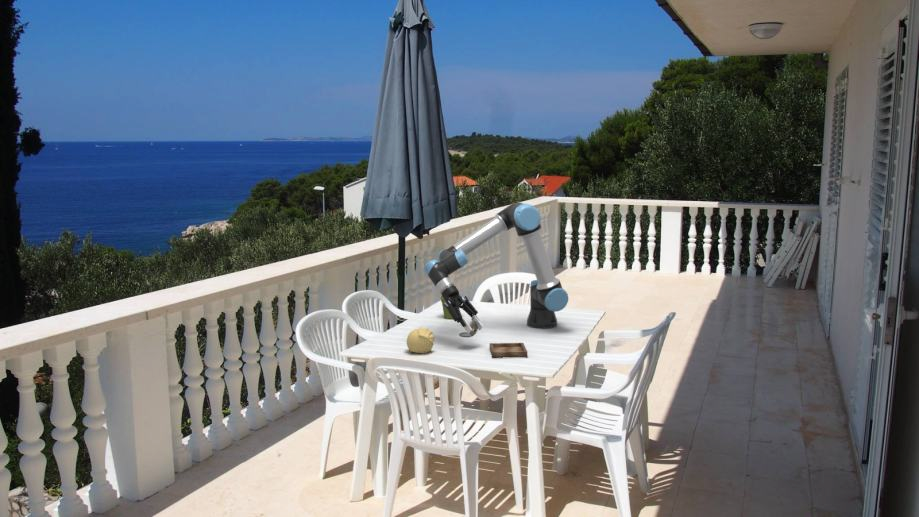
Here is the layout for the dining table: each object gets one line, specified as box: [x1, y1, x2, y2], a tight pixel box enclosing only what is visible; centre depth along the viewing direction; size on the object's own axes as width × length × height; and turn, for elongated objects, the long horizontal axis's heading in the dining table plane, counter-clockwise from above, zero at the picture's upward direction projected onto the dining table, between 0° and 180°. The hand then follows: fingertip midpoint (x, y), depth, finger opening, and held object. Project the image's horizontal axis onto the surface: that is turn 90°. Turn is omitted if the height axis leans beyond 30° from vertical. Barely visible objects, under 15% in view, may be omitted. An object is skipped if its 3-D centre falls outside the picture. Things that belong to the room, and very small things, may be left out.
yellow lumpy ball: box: [406, 326, 435, 354], centre depth 331 cm, size 12×12×11 cm
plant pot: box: [439, 295, 463, 320], centre depth 395 cm, size 12×12×11 cm
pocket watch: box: [458, 315, 478, 338], centre depth 335 cm, size 8×8×10 cm
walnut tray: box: [489, 342, 528, 359], centre depth 327 cm, size 15×15×2 cm
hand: (475, 330), depth 333 cm, fingers closed on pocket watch, 7 cm apart
